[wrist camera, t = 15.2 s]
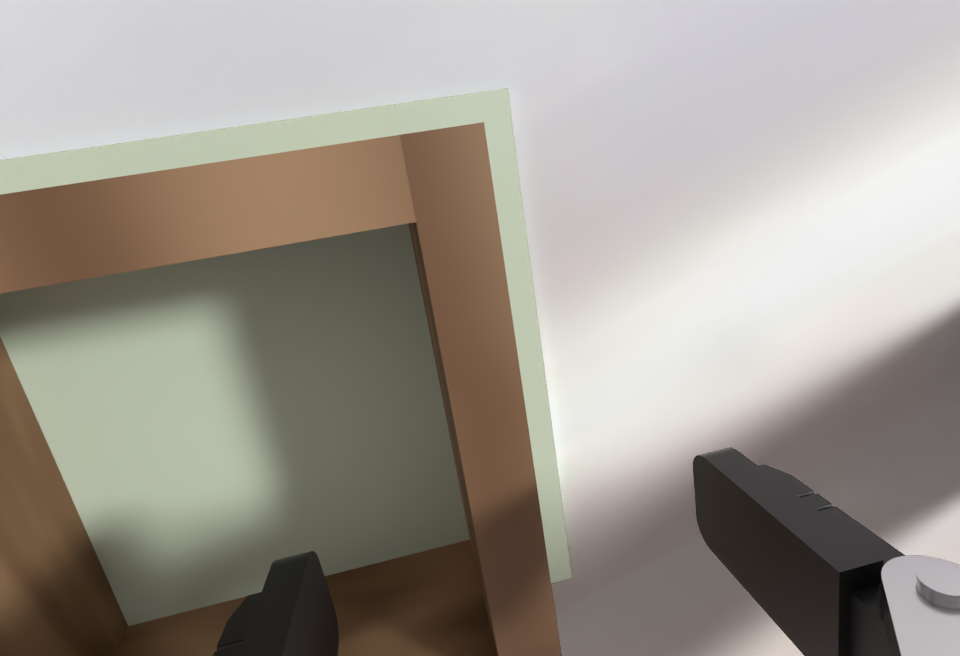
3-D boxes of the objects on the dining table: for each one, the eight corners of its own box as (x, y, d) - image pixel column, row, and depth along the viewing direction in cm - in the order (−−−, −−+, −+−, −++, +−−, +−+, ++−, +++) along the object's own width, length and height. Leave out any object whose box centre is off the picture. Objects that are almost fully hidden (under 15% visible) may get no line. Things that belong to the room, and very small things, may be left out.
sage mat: (504, 90, 15) (507, 88, 15) (568, 570, 20) (571, 577, 20) (-246, 198, 13) (-265, 197, 13) (33, 714, 18) (25, 725, 18)
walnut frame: (448, 150, 15) (483, 122, 9) (517, 563, 19) (570, 717, 14) (-114, 238, 13) (-495, 268, 8) (95, 674, 17) (-48, 907, 12)
